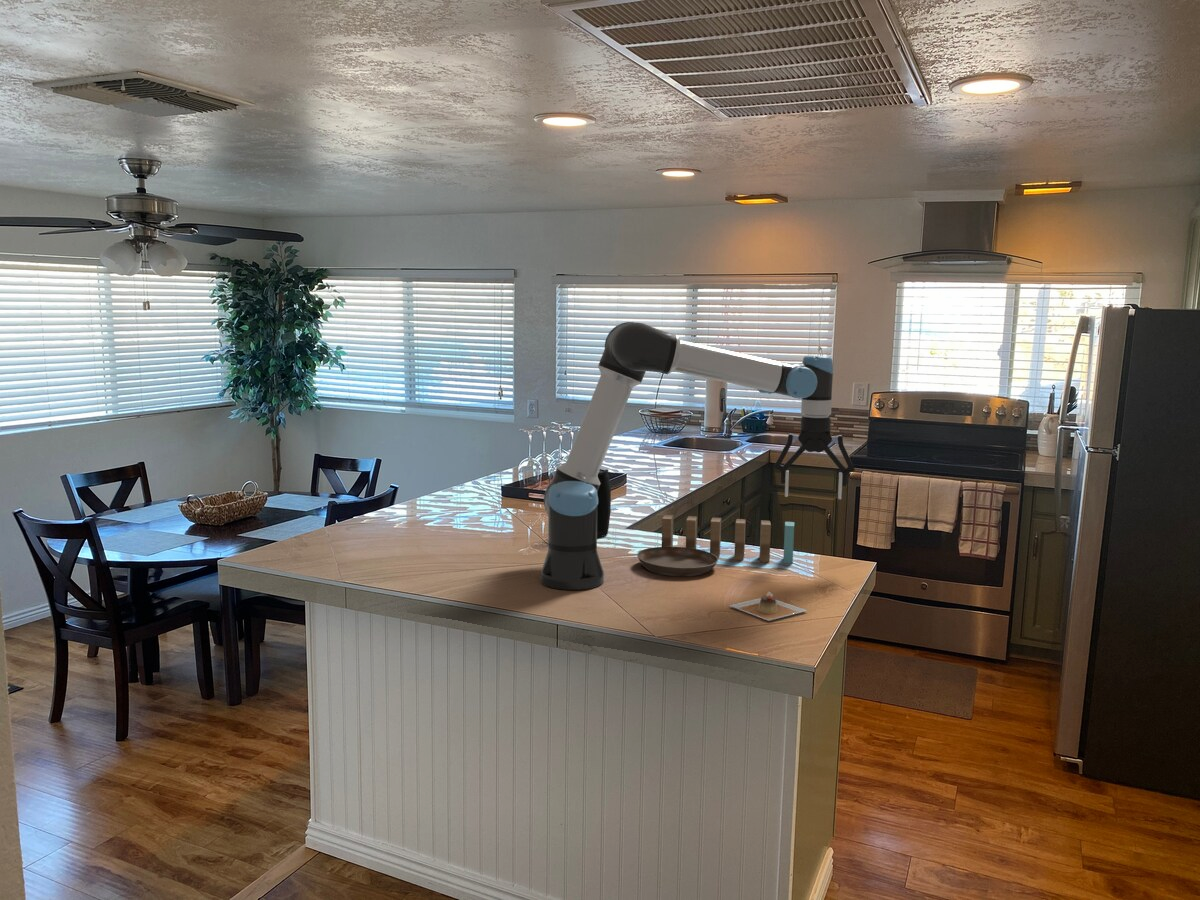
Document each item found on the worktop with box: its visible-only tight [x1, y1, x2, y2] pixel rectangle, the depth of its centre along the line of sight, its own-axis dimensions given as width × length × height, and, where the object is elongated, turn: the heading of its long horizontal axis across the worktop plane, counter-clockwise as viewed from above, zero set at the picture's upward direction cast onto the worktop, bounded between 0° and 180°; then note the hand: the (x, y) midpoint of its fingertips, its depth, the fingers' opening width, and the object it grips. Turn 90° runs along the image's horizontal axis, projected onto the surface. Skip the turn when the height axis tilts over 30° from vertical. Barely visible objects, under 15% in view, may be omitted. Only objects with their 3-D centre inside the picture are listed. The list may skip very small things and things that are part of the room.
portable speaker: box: [597, 468, 612, 538], centre depth 259 cm, size 9×9×20 cm
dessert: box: [728, 591, 808, 622], centre depth 193 cm, size 12×12×5 cm
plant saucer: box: [636, 546, 719, 577], centre depth 226 cm, size 21×21×3 cm
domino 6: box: [782, 521, 795, 564], centre depth 234 cm, size 5×2×10 cm, turn 167°
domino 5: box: [759, 519, 772, 563], centre depth 235 cm, size 5×2×10 cm, turn 172°
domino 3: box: [709, 517, 722, 560], centre depth 238 cm, size 5×2×10 cm, turn 168°
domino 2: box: [685, 515, 698, 549], centre depth 239 cm, size 5×2×10 cm, turn 168°
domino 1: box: [661, 514, 674, 547], centre depth 240 cm, size 5×2×10 cm, turn 168°
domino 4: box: [733, 518, 747, 561], centre depth 236 cm, size 5×2×10 cm, turn 168°
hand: (812, 497), depth 231 cm, fingers open, 13 cm apart
